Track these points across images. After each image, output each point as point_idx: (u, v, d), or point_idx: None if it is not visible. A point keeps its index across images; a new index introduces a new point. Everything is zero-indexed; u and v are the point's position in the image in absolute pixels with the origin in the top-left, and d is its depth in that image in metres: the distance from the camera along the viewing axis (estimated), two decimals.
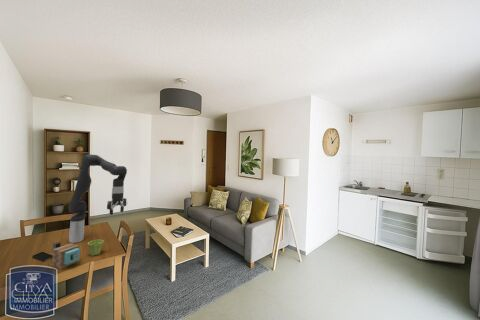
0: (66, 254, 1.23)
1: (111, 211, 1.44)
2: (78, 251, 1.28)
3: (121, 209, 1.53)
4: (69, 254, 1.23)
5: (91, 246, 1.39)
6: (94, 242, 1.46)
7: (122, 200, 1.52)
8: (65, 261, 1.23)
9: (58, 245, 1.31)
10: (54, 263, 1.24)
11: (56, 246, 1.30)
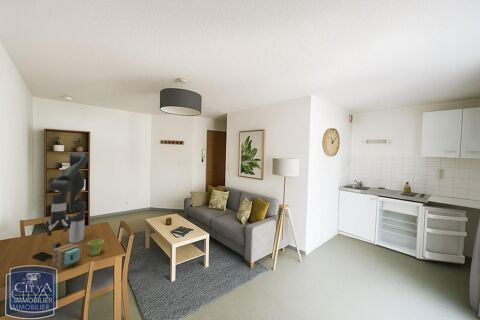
0: (66, 254, 1.23)
1: (49, 232, 1.27)
2: (78, 251, 1.28)
3: (64, 228, 1.35)
4: (69, 254, 1.23)
5: (91, 246, 1.39)
6: (94, 242, 1.46)
7: (65, 218, 1.35)
8: (65, 261, 1.23)
9: (58, 245, 1.31)
10: (54, 263, 1.24)
11: (56, 246, 1.30)
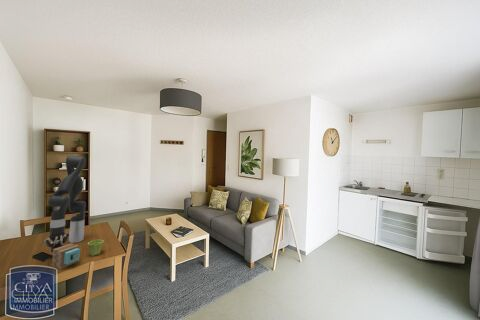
0: (66, 254, 1.23)
1: (53, 248, 1.29)
2: (78, 251, 1.28)
3: None
4: (69, 254, 1.23)
5: (91, 246, 1.39)
6: (94, 242, 1.46)
7: (63, 234, 1.34)
8: (65, 261, 1.23)
9: (58, 245, 1.31)
10: (54, 263, 1.24)
11: (56, 246, 1.30)
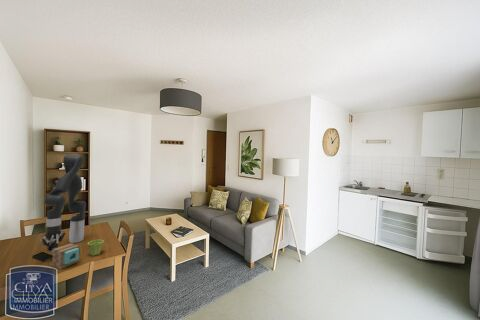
0: (65, 254, 1.23)
1: (49, 247, 1.31)
2: (77, 251, 1.28)
3: None
4: (68, 254, 1.24)
5: (91, 246, 1.39)
6: (94, 242, 1.46)
7: (60, 233, 1.36)
8: (64, 261, 1.23)
9: (54, 244, 1.33)
10: (54, 263, 1.24)
11: (52, 245, 1.32)
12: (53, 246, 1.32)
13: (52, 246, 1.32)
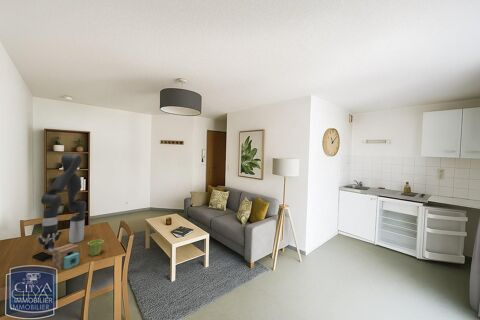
0: (66, 259, 1.23)
1: (45, 246, 1.32)
2: (78, 256, 1.28)
3: None
4: (69, 259, 1.23)
5: (91, 246, 1.39)
6: (94, 242, 1.46)
7: (56, 232, 1.37)
8: (65, 266, 1.23)
9: (50, 243, 1.34)
10: (54, 263, 1.24)
11: (48, 244, 1.33)
12: (49, 245, 1.33)
13: (48, 245, 1.33)
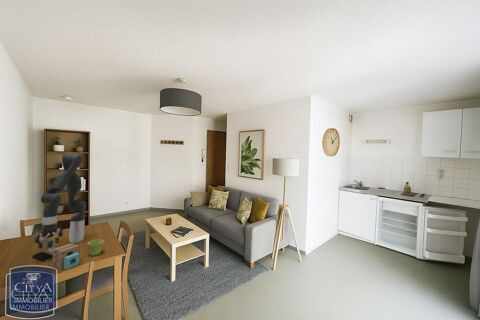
0: (66, 259, 1.23)
1: (40, 245, 1.30)
2: (78, 256, 1.28)
3: (55, 240, 1.38)
4: (69, 259, 1.23)
5: (91, 246, 1.39)
6: (94, 242, 1.46)
7: (56, 231, 1.37)
8: (65, 266, 1.23)
9: (50, 243, 1.34)
10: (54, 263, 1.24)
11: (48, 244, 1.33)
12: (49, 245, 1.33)
13: (48, 245, 1.33)
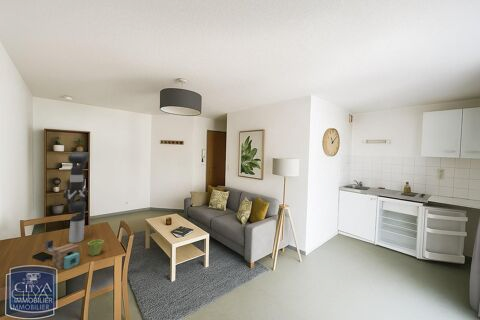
0: (66, 259, 1.23)
1: (68, 200, 1.38)
2: (78, 256, 1.28)
3: (81, 199, 1.46)
4: (69, 259, 1.23)
5: (91, 246, 1.39)
6: (94, 242, 1.46)
7: (82, 189, 1.46)
8: (65, 266, 1.23)
9: (50, 243, 1.34)
10: (54, 263, 1.24)
11: (48, 244, 1.33)
12: (49, 245, 1.33)
13: (48, 245, 1.33)
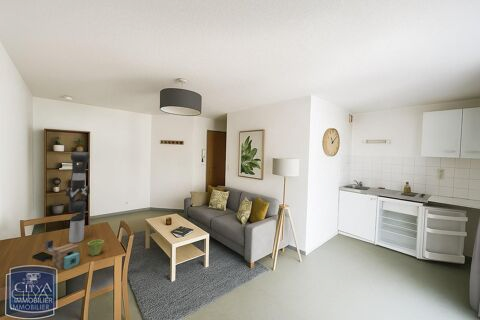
0: (66, 259, 1.23)
1: (71, 198, 1.39)
2: (77, 256, 1.28)
3: (83, 197, 1.47)
4: (69, 259, 1.23)
5: (91, 246, 1.39)
6: (94, 242, 1.46)
7: (84, 188, 1.46)
8: (65, 266, 1.23)
9: (50, 243, 1.34)
10: (54, 263, 1.24)
11: (48, 244, 1.33)
12: (49, 245, 1.33)
13: (48, 245, 1.33)
